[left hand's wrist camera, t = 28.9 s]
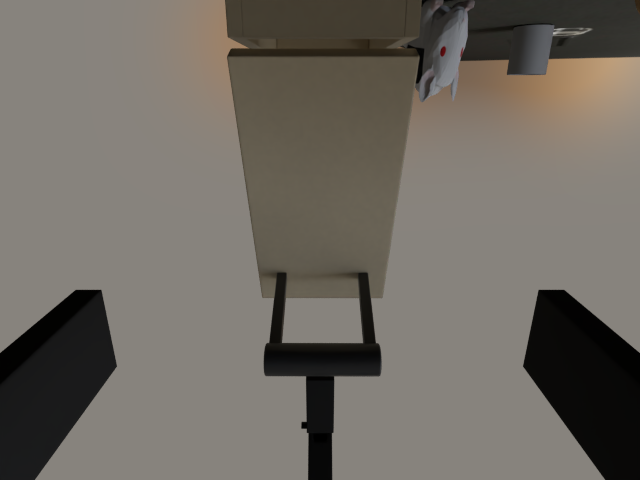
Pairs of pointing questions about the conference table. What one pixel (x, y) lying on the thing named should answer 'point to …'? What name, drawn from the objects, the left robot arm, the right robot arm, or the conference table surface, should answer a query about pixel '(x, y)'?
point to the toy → (440, 46)
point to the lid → (322, 184)
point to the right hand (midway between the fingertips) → (320, 432)
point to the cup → (530, 50)
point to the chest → (323, 23)
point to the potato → (638, 5)
